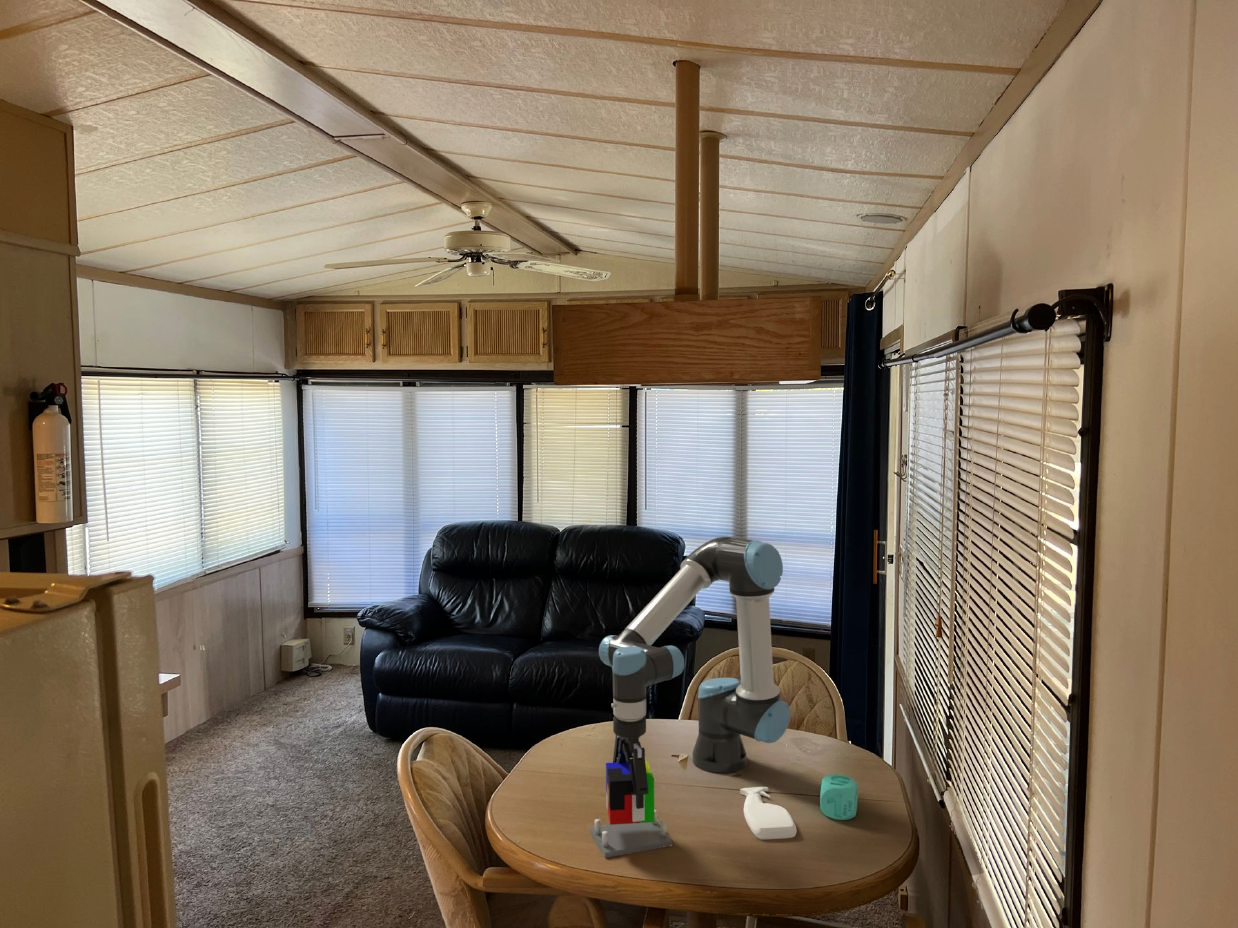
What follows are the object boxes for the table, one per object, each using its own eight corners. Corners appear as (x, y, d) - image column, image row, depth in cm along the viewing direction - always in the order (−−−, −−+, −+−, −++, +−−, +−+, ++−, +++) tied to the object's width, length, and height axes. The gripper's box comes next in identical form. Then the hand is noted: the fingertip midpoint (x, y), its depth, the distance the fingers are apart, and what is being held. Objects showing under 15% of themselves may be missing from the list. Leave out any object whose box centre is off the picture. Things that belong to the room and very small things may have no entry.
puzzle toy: (606, 803, 204) (605, 762, 203) (648, 801, 205) (648, 760, 204) (610, 824, 194) (609, 781, 193) (654, 821, 195) (654, 778, 194)
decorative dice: (819, 817, 210) (820, 785, 209) (824, 802, 217) (824, 771, 216) (853, 822, 207) (854, 790, 206) (857, 808, 214) (857, 776, 213)
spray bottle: (754, 841, 199) (731, 795, 223) (800, 839, 200) (772, 793, 224) (754, 829, 199) (731, 784, 223) (800, 826, 200) (772, 781, 224)
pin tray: (653, 821, 208) (653, 804, 208) (672, 845, 197) (672, 827, 196) (589, 832, 203) (589, 814, 203) (605, 857, 192) (604, 839, 191)
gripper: (599, 701, 208) (599, 789, 209) (630, 736, 185) (631, 835, 187) (628, 697, 210) (629, 785, 212) (663, 732, 188) (663, 829, 189)
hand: (630, 808), depth 199 cm, fingers closed on puzzle toy, 11 cm apart
